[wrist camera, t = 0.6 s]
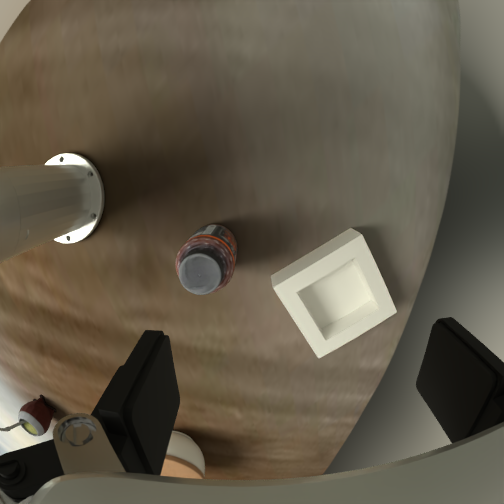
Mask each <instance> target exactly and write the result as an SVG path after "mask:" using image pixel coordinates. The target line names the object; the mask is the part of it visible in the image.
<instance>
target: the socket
mask: <svg viewBox="0 0 504 504" xmlns="http://www.w3.org/2000/svg"><path fill="white" fill-rule="evenodd" d="M271 280H272V286H273V289H274V290H275V292H276V293H277V295H278V296H279V298H280V299H281V301H282V303H283V304H284V306H285V307H286V309H287V310H288V312H289V313H290V315H291V317H292V318H293V320H294V321H295V323H296V324H297V326H298V327H299V329H300V330H301V332H302V334H303V335H304V337H305V338H306V340H307V341H308V343H309V344H310V346H311V348H312V349H313V351H314V352H315V354H316V355H317V357H318V358H321V357H322V356H324V355H326V354H328V353H330V352H332V351H333V350H335V349H337V348H339V347H340V346H342V345H344V344H346V343H347V342H349V341H351V340H353V339H354V338H356V337H358V336H359V335H361V334H363V333H364V332H366V331H368V330H369V329H371V328H373V327H374V326H376V325H377V324H379V323H381V322H382V321H384V320H385V319H387V318H388V317H390V316H392V315H393V314H395V313H396V312H397V311H396V308H395V306H394V304H393V301H392V299H391V296H390V294H389V292H388V289H387V287H386V285H385V283H384V280H383V278H382V276H381V274H380V271H379V269H378V267H377V265H376V263H375V260H374V258H373V256H372V254H371V252H370V250H369V248H368V246H367V244H366V242H365V240H364V237H363V235H362V234H361V233H359V232H357V231H356V230H354V229H352V228H349V229H348V230H346V231H344V232H343V233H341V234H340V235H338V236H336V237H335V238H333V239H331V240H330V241H328V242H326V243H325V244H323V245H321V246H320V247H318V248H316V249H315V250H313V251H311V252H310V253H308V254H306V255H305V256H303V257H301V258H300V259H298V260H296V261H295V262H293V263H291V264H290V265H288V266H286V267H285V268H283V269H281V270H279V271H278V272H276V273H274V274H273V275H271Z"/></svg>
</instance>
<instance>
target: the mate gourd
mask: <svg viewBox="0 0 504 504" xmlns="http://www.w3.org/2000/svg"><path fill="white" fill-rule="evenodd" d="M54 412H56V409H55V408H53V407H50V406H48V405H46V403H45V399H44V396H43V395H40V398H39V399H38V400H36V399H33V401H31V402H28V403H27V404H25V405H24V406H22V408H21V409H20V412H19V416H18V419H19V423H16V424H14V425H12V426H10V427H6V428H0V431H10V430H11V429H13V428H15V427H17V426H19V425H21V426H22V427H23V428H24V429H25V430H26V431H27V432H28V433H29V434H31V435H33V436H41V435H43V434H44V433H46V432H47V430H48V428H49V426H50V423H51V420H52V417H53V413H54Z"/></svg>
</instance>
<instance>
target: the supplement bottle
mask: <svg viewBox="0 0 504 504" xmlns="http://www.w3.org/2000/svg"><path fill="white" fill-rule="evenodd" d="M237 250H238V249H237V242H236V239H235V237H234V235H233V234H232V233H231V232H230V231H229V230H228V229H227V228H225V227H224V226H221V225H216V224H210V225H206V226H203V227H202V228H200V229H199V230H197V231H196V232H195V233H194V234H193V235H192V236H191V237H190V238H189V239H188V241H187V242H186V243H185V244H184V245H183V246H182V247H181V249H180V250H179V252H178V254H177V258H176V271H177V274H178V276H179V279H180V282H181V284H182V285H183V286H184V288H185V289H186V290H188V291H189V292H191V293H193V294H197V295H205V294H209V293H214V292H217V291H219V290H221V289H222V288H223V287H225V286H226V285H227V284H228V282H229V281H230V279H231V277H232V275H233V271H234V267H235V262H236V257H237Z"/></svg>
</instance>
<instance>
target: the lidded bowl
mask: <svg viewBox="0 0 504 504" xmlns="http://www.w3.org/2000/svg"><path fill="white" fill-rule="evenodd" d="M204 475H205V461H204V456H203V454H202V451H201V450H200V448H199V447H198V445H197V444H196V443H195V442H194V441H193V440H192V438H190V437H189V436H188V435H186V434H184V433H182V432H178V431H173V430H172V434H171V438H170V441H169V445H168V449H167V453H166V456H165V460H164V464H163V468H162V472H161V475H160V476H172V477H182V478H194V479H205V478H204Z"/></svg>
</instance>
